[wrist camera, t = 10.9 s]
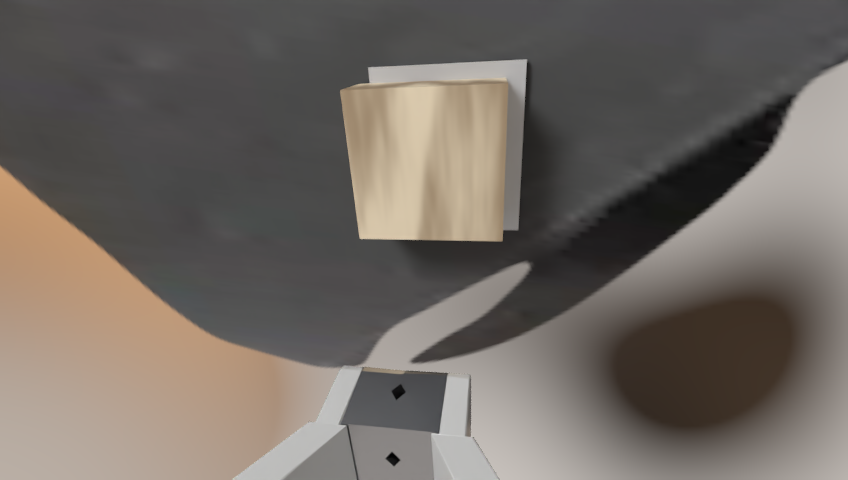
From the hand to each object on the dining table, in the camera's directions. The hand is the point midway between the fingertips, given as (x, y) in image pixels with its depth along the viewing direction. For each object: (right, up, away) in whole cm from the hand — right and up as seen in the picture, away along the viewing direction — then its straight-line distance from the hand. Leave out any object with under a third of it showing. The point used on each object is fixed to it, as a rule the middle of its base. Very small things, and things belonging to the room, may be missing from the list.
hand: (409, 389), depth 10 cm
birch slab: (-4, +9, +19) cm, 22 cm away
